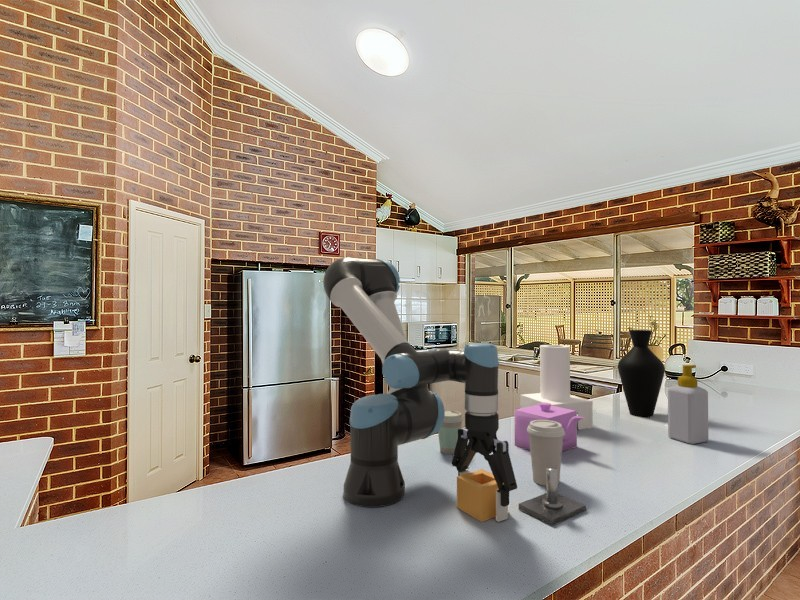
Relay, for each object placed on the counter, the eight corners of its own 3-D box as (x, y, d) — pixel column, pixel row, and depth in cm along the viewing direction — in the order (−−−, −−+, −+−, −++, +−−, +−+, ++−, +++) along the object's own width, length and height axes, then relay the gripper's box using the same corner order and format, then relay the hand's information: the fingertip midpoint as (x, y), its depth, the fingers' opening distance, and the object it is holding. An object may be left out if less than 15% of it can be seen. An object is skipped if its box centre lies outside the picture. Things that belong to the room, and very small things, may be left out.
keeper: (552, 525, 91) (551, 481, 91) (518, 509, 99) (518, 468, 99) (586, 510, 98) (585, 469, 98) (552, 495, 105) (552, 457, 105)
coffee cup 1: (462, 456, 132) (462, 417, 132) (434, 454, 134) (434, 416, 134) (463, 447, 141) (463, 410, 141) (437, 445, 142) (437, 409, 142)
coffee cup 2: (540, 490, 108) (540, 430, 108) (520, 476, 117) (519, 420, 117) (573, 486, 111) (573, 427, 111) (551, 472, 120) (550, 417, 120)
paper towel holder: (520, 419, 174) (520, 344, 174) (560, 415, 180) (559, 343, 180) (550, 432, 156) (549, 349, 156) (592, 428, 162) (592, 347, 162)
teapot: (570, 463, 126) (569, 415, 126) (502, 441, 146) (502, 400, 147) (598, 452, 135) (597, 407, 135) (531, 433, 155) (530, 394, 156)
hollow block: (481, 521, 93) (481, 489, 93) (457, 507, 100) (456, 476, 100) (507, 511, 97) (507, 480, 97) (482, 498, 104) (482, 469, 104)
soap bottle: (710, 442, 145) (709, 366, 145) (692, 445, 141) (691, 368, 142) (684, 434, 153) (683, 363, 153) (666, 437, 150) (665, 364, 150)
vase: (628, 407, 192) (627, 328, 192) (672, 415, 179) (671, 330, 179) (610, 414, 181) (610, 330, 181) (655, 422, 168) (654, 332, 168)
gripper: (534, 420, 91) (535, 525, 91) (459, 400, 110) (460, 486, 110) (509, 426, 87) (510, 536, 86) (436, 404, 106) (437, 494, 106)
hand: (482, 508), depth 98 cm, fingers open, 11 cm apart
